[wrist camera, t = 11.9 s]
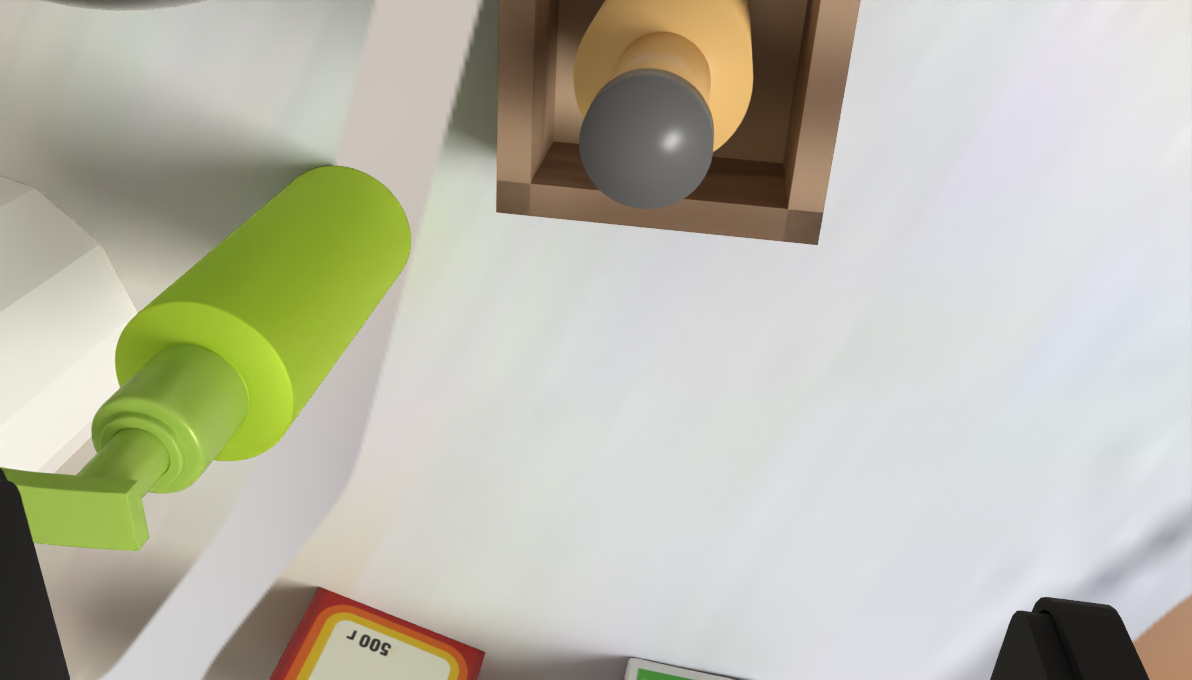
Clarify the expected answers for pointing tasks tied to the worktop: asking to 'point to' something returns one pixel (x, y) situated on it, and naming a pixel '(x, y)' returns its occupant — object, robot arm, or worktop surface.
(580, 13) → the open wooden box
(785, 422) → the worktop surface
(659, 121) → the amber bottle
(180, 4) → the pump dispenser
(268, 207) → the soap dispenser
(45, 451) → the container
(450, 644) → the baking soda box
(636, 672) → the skincare box
